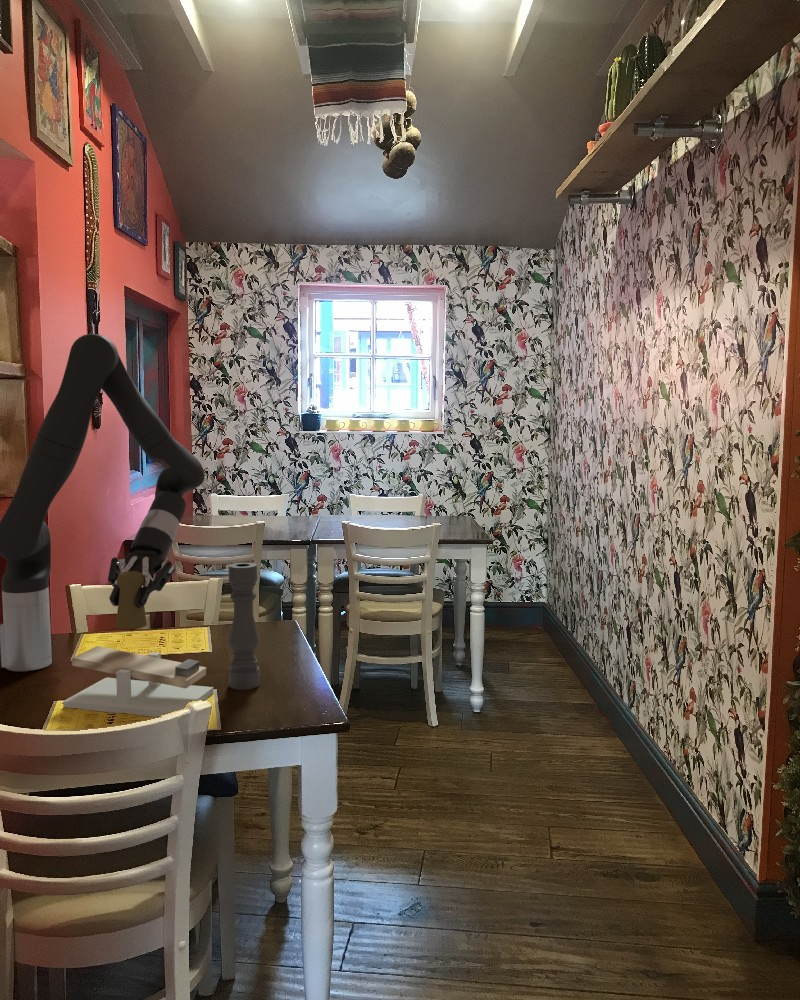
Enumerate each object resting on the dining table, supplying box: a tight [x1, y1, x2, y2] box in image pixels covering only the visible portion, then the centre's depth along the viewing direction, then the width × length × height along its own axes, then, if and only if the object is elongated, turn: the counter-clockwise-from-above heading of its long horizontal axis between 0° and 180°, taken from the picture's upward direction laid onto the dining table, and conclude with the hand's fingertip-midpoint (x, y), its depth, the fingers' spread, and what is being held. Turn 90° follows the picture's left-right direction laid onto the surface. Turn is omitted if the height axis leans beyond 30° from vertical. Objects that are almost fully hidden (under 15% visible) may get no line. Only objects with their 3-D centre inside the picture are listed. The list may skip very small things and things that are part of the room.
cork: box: [115, 571, 148, 630], centre depth 160 cm, size 6×6×11 cm
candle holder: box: [228, 562, 261, 691], centre depth 162 cm, size 6×6×25 cm
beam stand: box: [62, 651, 214, 718], centre depth 154 cm, size 24×14×8 cm, turn 77°
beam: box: [71, 645, 207, 688], centre depth 154 cm, size 24×8×4 cm, turn 77°
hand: (125, 604), depth 158 cm, fingers closed on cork, 4 cm apart
